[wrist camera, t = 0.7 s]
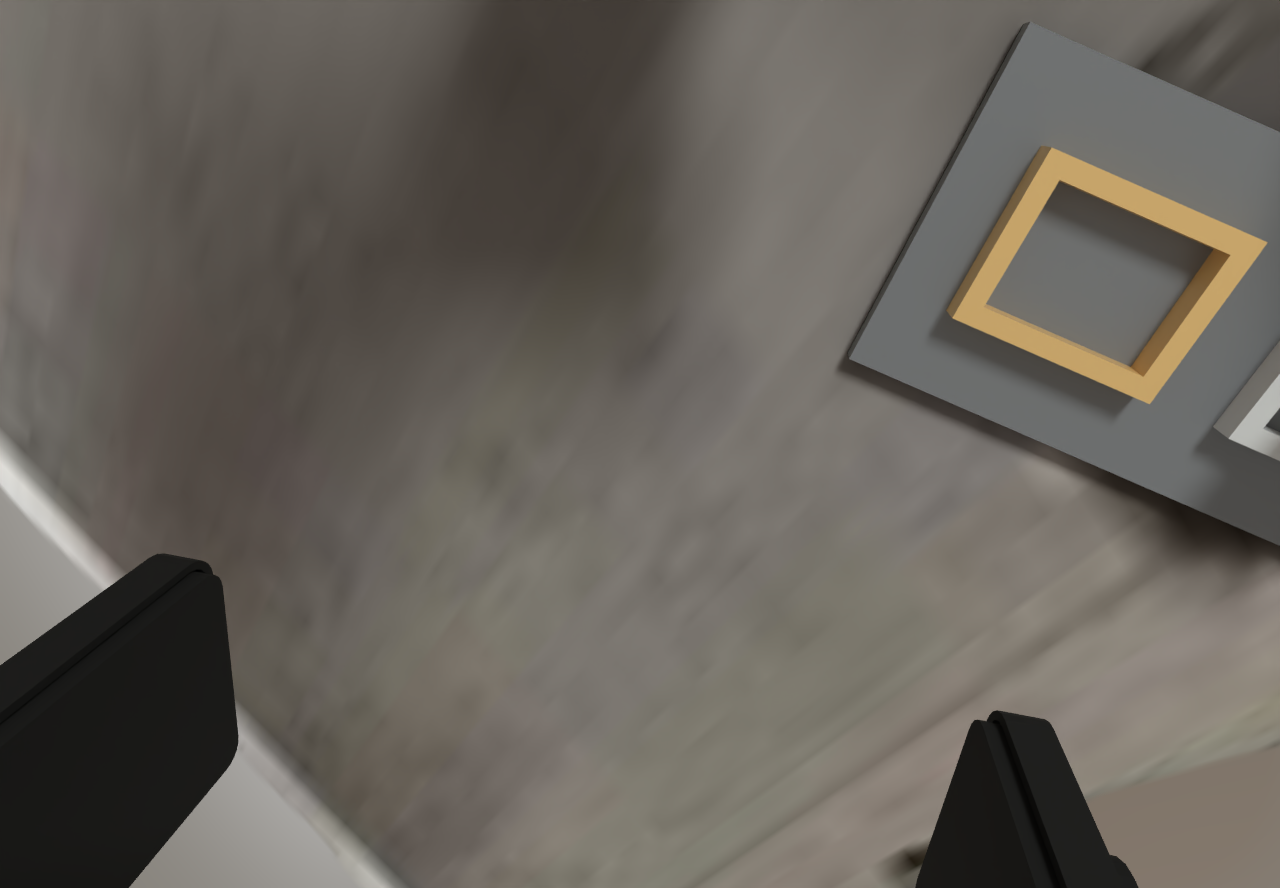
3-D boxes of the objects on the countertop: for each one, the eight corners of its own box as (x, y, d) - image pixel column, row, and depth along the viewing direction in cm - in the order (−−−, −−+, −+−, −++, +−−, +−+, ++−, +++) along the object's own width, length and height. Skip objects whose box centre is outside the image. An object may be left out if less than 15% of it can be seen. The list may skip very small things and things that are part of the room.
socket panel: (1023, 23, 35) (1040, 18, 33) (1656, 303, 36) (1716, 317, 33) (847, 353, 42) (851, 367, 39) (1382, 585, 42) (1417, 613, 40)
